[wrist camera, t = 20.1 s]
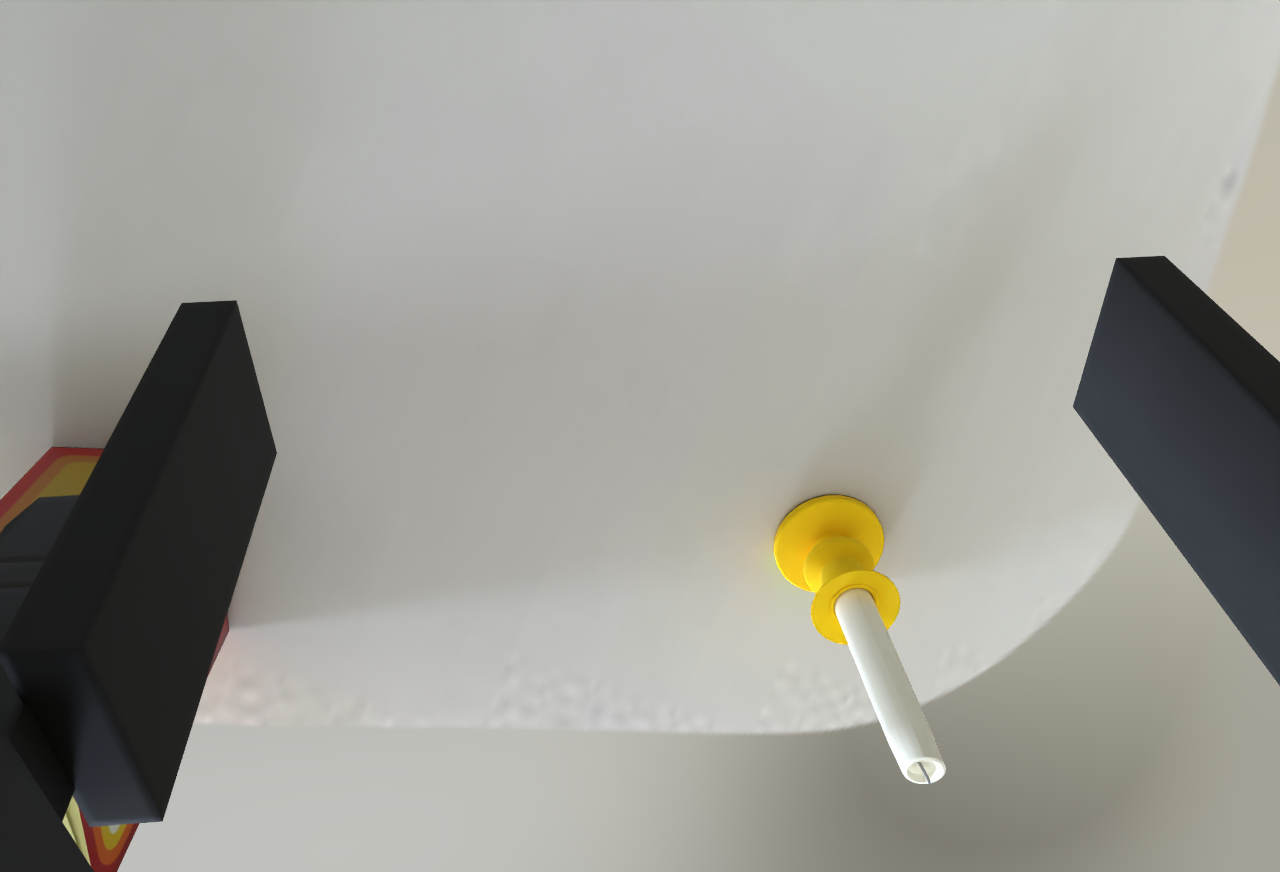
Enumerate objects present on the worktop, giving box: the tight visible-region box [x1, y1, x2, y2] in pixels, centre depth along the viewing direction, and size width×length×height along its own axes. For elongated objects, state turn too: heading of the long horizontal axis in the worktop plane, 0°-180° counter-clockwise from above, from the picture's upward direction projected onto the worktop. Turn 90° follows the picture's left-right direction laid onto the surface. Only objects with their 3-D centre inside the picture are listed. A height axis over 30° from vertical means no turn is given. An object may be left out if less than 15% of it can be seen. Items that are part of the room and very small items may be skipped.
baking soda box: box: [0, 447, 229, 872], centre depth 40 cm, size 10×6×16 cm
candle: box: [774, 495, 946, 784], centre depth 43 cm, size 5×5×16 cm
